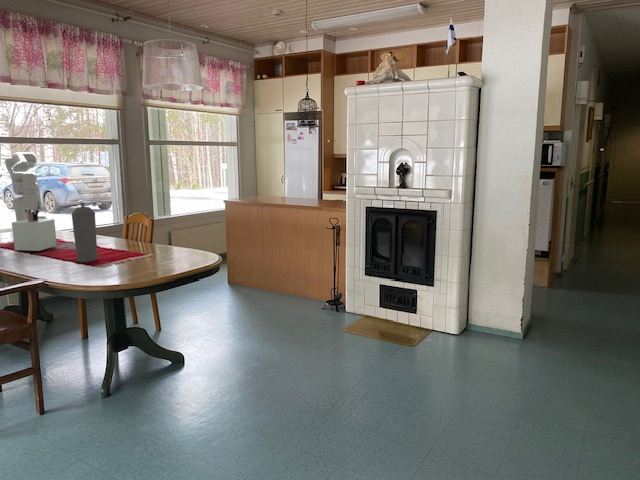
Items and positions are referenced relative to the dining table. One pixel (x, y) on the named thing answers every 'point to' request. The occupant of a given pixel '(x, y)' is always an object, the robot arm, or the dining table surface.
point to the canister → (85, 233)
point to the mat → (69, 245)
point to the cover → (34, 234)
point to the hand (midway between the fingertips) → (33, 219)
